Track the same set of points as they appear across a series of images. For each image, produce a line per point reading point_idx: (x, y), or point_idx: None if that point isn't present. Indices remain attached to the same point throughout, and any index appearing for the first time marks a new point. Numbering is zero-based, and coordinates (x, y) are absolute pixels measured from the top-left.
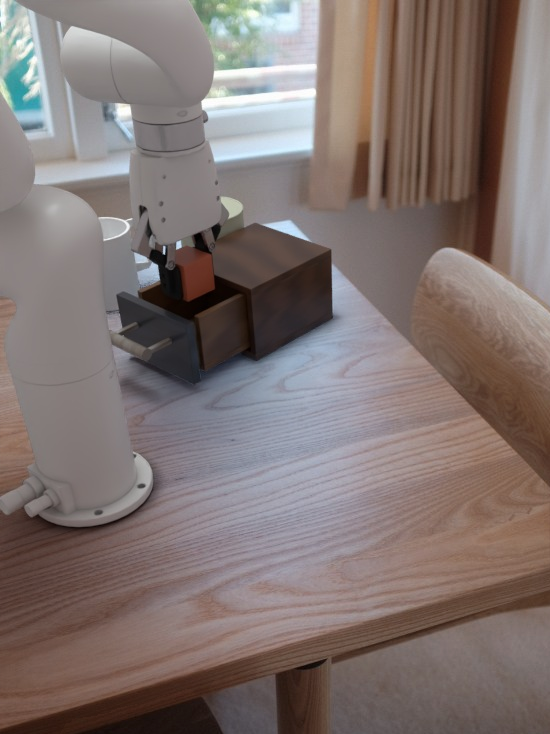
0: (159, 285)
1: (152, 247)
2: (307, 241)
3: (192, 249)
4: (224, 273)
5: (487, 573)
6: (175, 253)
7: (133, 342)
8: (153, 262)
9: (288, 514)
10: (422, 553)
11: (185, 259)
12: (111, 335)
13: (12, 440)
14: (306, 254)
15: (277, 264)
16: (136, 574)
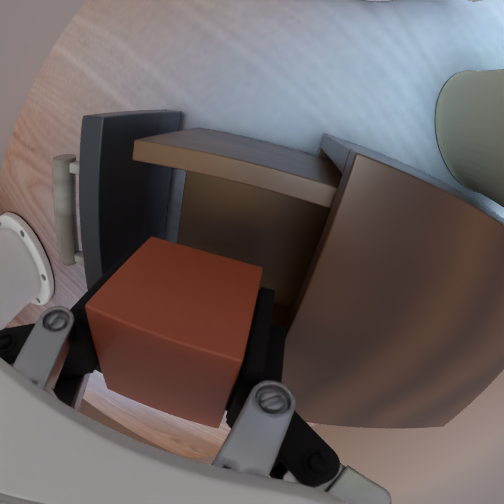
0: (203, 173)
1: (22, 347)
2: (477, 395)
3: (217, 387)
4: (301, 358)
5: (144, 436)
6: (79, 403)
7: (60, 233)
8: (49, 312)
9: (101, 378)
10: (133, 422)
11: (139, 385)
12: (53, 178)
13: (10, 144)
14: (425, 418)
15: (378, 410)
16: (25, 318)
